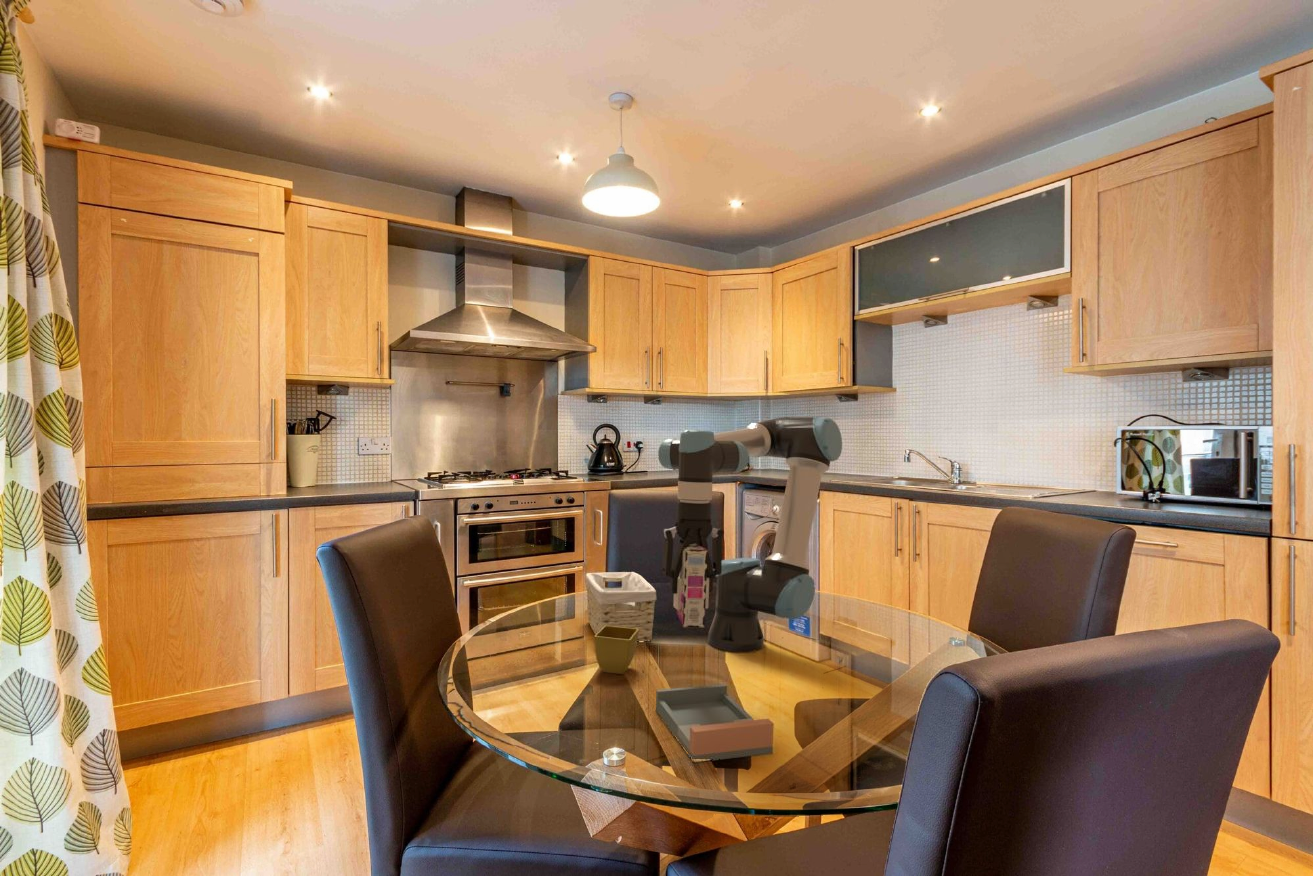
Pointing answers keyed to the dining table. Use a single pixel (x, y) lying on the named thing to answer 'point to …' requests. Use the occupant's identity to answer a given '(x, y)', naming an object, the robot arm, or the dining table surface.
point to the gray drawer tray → (713, 723)
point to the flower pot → (615, 648)
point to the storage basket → (621, 602)
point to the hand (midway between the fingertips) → (690, 607)
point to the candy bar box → (693, 587)
